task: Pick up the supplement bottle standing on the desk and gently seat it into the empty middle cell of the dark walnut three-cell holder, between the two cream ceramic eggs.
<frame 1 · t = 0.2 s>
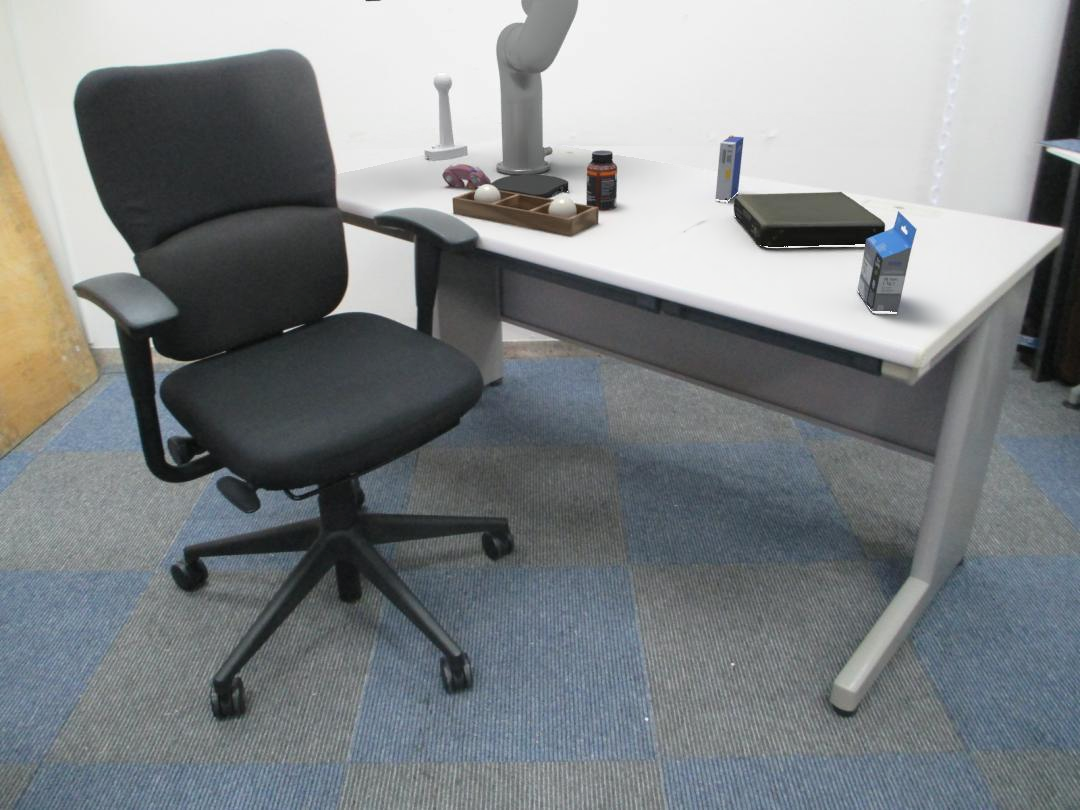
network switch: (801, 234, 150), on the table
video game controller: (467, 191, 179), on the table
joystick: (444, 156, 209), on the table
media streaming box: (528, 195, 176), on the table
egg a: (488, 211, 161), point 1 cm above the table, touching holder
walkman: (726, 198, 170), on the table
supplement bottle: (601, 211, 163), on the table
holder: (524, 222, 157), on the table
grey and blue box: (876, 304, 119), on the table
egg b: (562, 225, 152), point 1 cm above the table, touching holder
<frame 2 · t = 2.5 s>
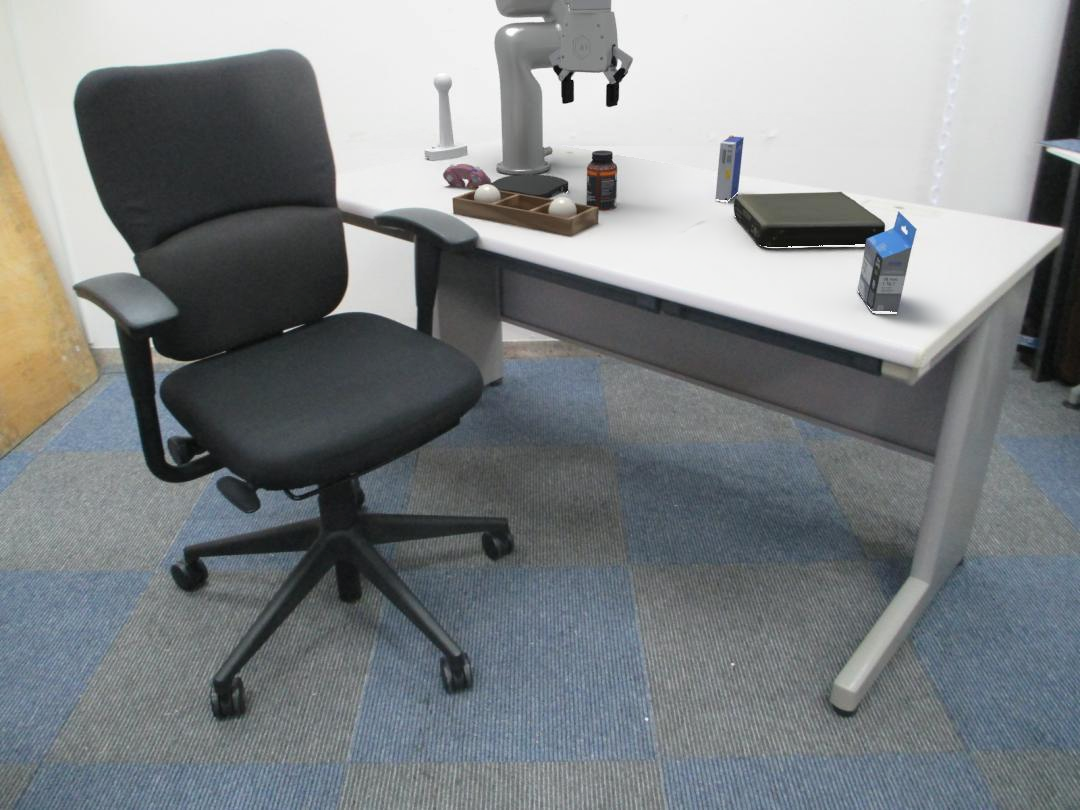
hand: (589, 104, 154), 20 cm above the table, tool pointing down, fingers open, 9 cm apart
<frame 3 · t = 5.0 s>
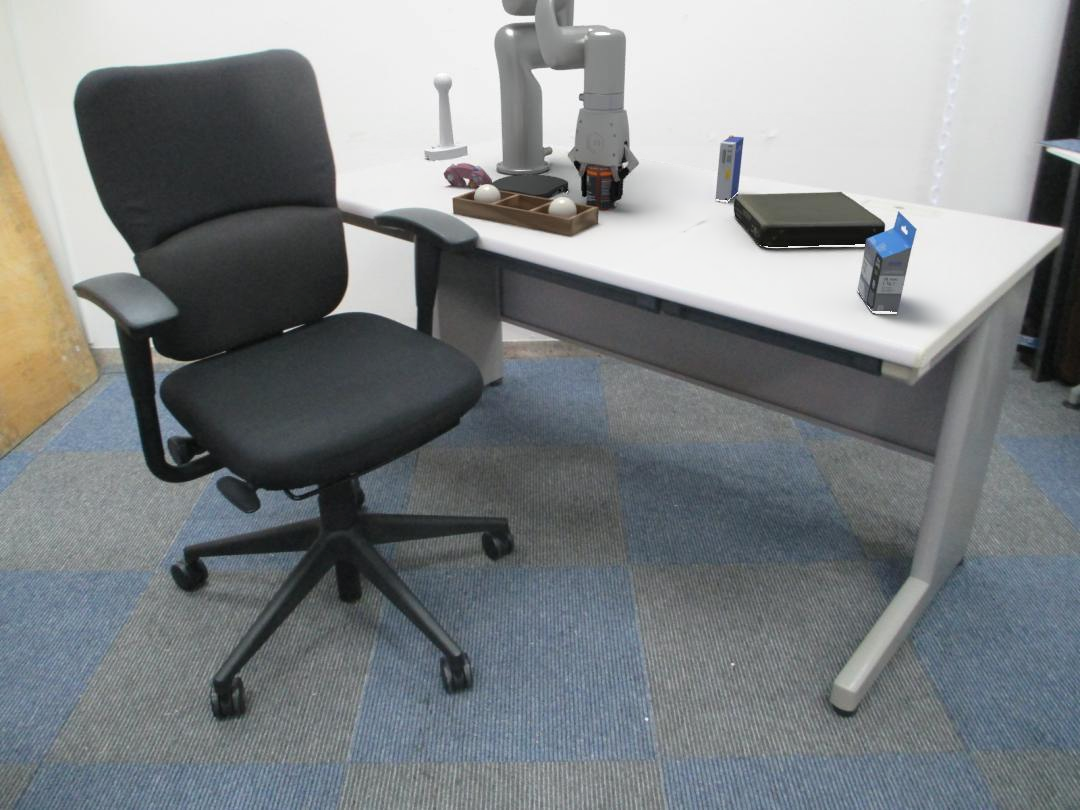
hand: (601, 197, 162), 3 cm above the table, tool pointing down, fingers closed on supplement bottle, 6 cm apart
supplement bottle: (601, 211, 163), on the table, touching gripper
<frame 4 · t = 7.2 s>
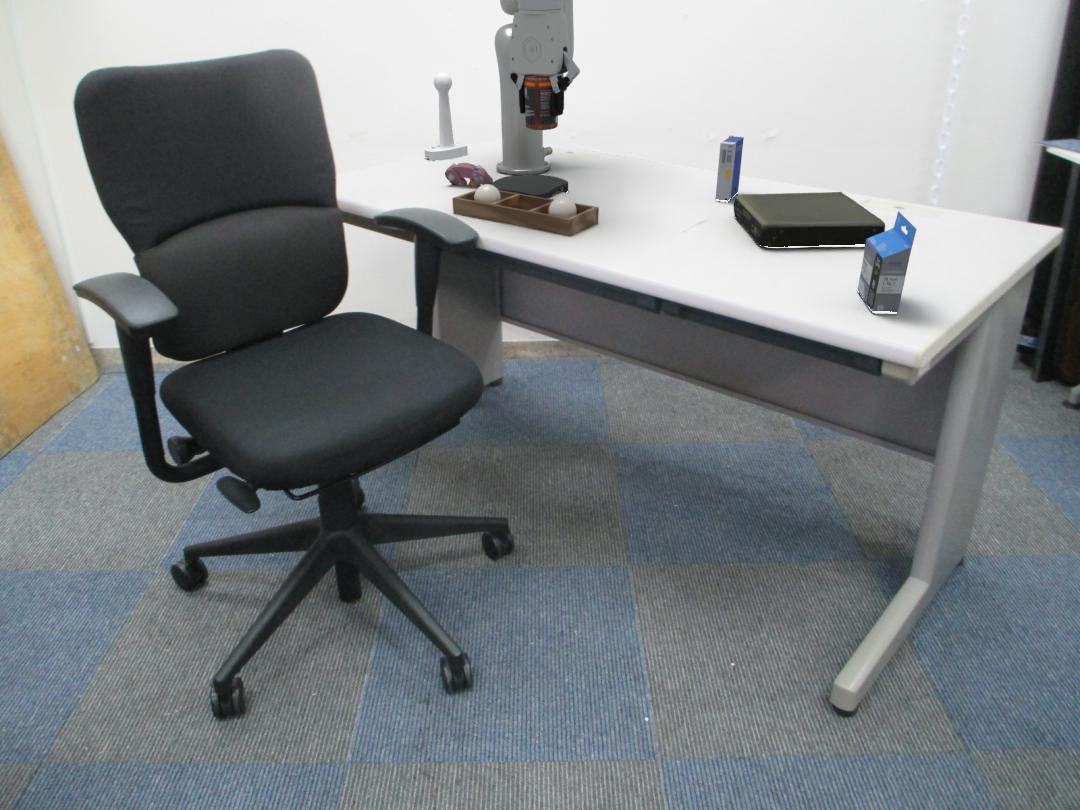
hand: (541, 112, 149), 20 cm above the table, tool pointing down, fingers closed on supplement bottle, 6 cm apart
supplement bottle: (541, 129, 150), point 17 cm above the table, touching gripper
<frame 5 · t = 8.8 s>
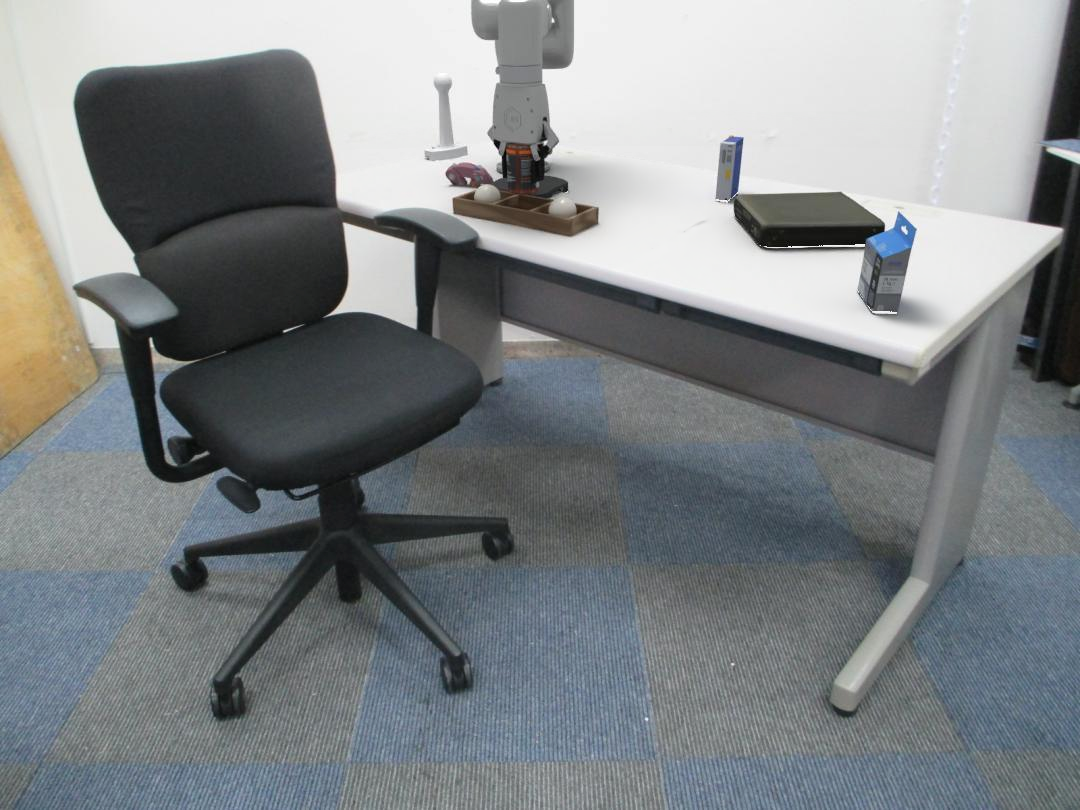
hand: (523, 177, 152), 8 cm above the table, tool pointing down, fingers closed on supplement bottle, 6 cm apart
supplement bottle: (523, 193, 154), point 6 cm above the table, touching gripper
when the fingers open (6 cm above the table, at t = 9.7 s): supplement bottle drops 3 cm, resting on holder.
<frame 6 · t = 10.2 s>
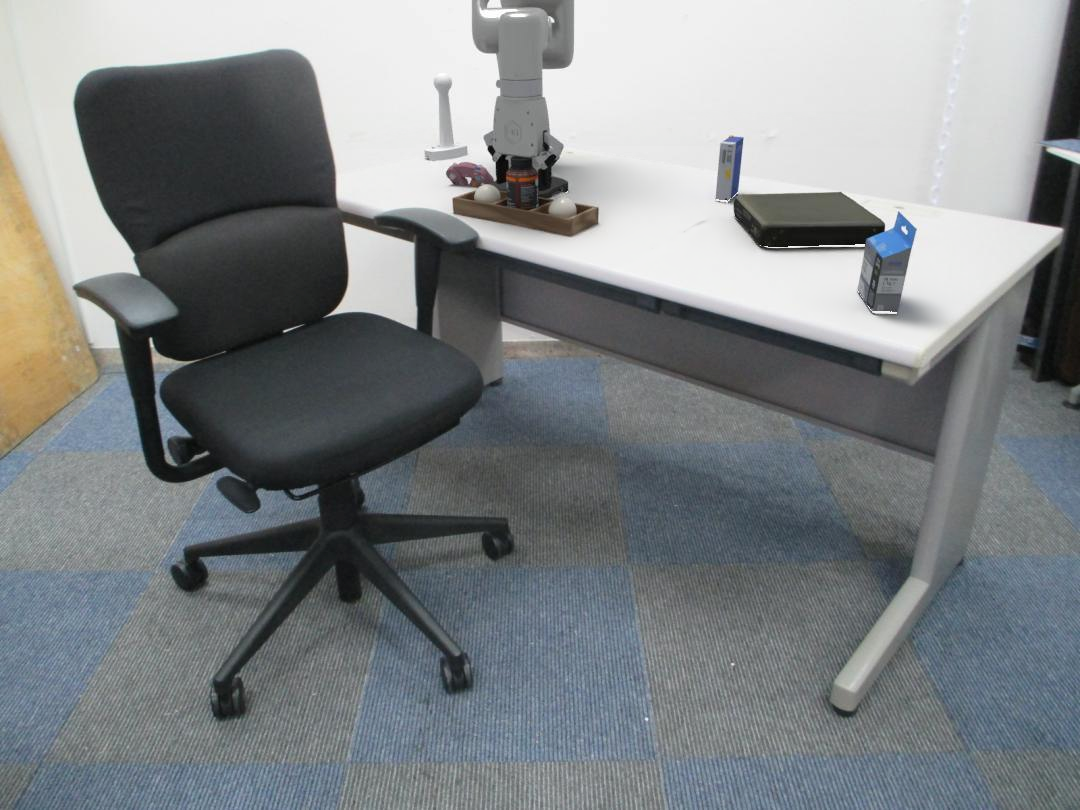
hand: (523, 185, 153), 7 cm above the table, tool pointing down, fingers open, 9 cm apart
supplement bottle: (523, 218, 156), point 1 cm above the table, touching holder
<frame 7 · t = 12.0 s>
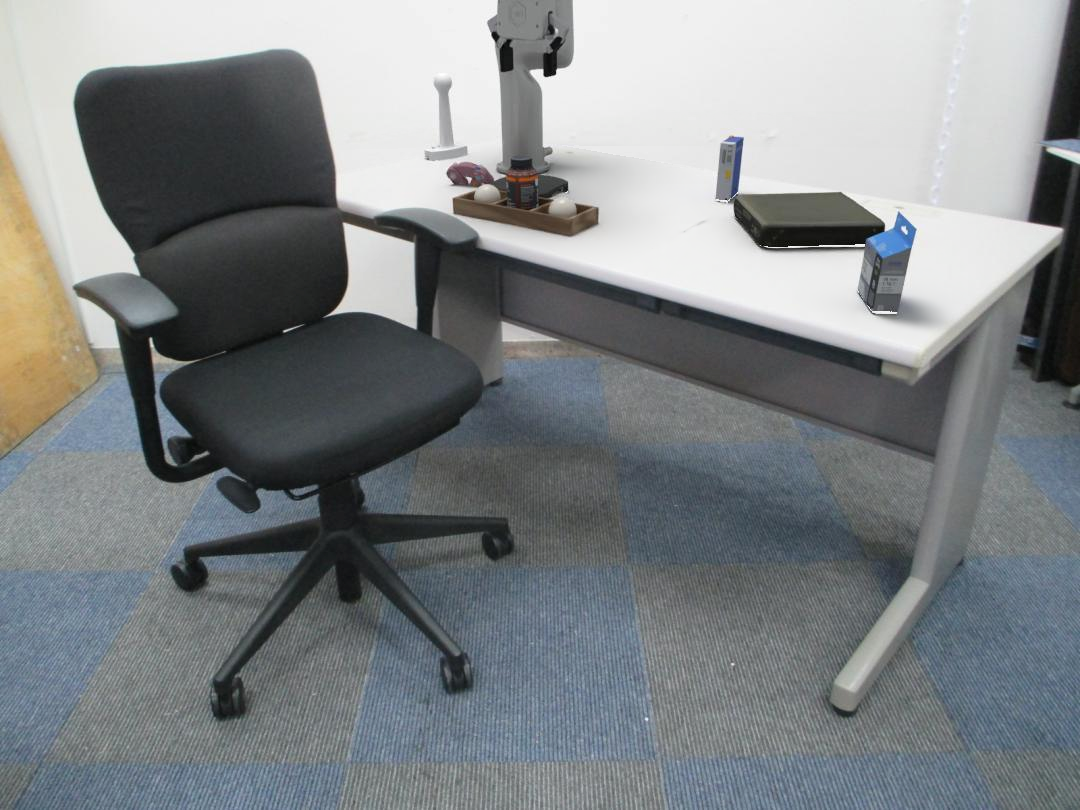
hand: (528, 73, 149), 26 cm above the table, tool pointing down, fingers open, 9 cm apart
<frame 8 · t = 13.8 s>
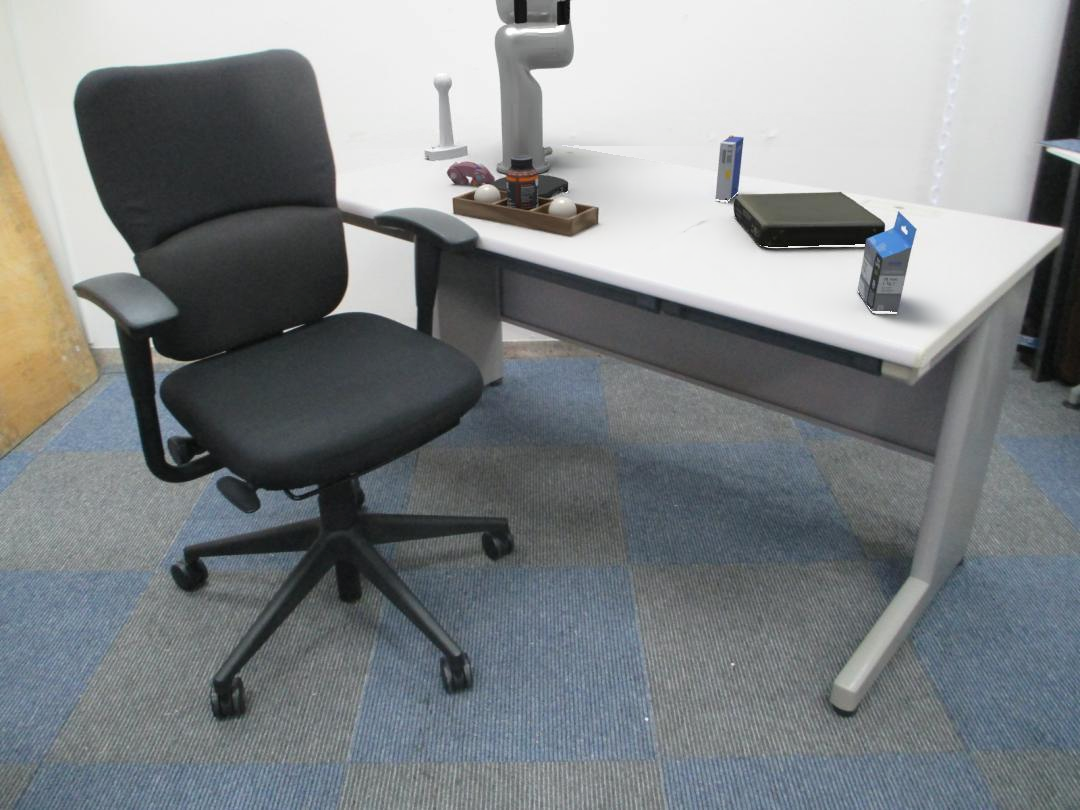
hand: (541, 24, 154), 33 cm above the table, tool pointing down, fingers open, 9 cm apart
at the end: supplement bottle 0.3 cm off-centre on the holder, point 0.6 cm above the holder's base; supplement bottle tilted 0°; the gripper is holding nothing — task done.
